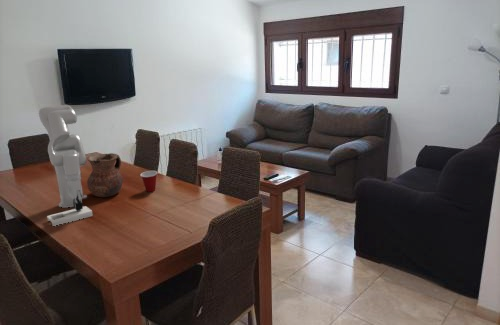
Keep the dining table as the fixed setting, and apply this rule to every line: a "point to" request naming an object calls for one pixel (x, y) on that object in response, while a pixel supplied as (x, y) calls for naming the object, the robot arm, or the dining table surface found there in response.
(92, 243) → the dining table surface
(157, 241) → the dining table surface
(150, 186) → the plastic cup
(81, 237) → the dining table surface
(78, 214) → the keyhole plate
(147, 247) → the dining table surface
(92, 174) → the jug
